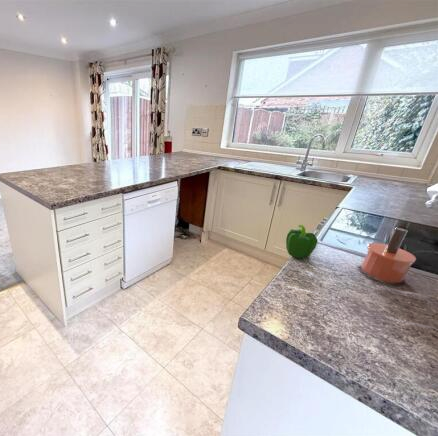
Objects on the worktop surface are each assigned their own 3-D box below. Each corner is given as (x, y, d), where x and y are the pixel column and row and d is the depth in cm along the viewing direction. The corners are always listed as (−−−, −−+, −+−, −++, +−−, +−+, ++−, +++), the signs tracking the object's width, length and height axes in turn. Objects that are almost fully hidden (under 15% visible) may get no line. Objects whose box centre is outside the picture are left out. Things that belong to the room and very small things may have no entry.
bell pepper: (314, 264, 76) (324, 235, 72) (284, 258, 79) (293, 230, 75) (308, 251, 84) (317, 224, 80) (281, 246, 86) (288, 220, 82)
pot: (391, 269, 75) (401, 249, 72) (409, 287, 67) (421, 265, 64) (355, 262, 78) (363, 243, 75) (368, 279, 70) (378, 258, 67)
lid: (400, 250, 73) (413, 225, 70) (423, 268, 64) (439, 241, 61) (359, 243, 76) (370, 219, 73) (376, 260, 67) (388, 233, 64)
